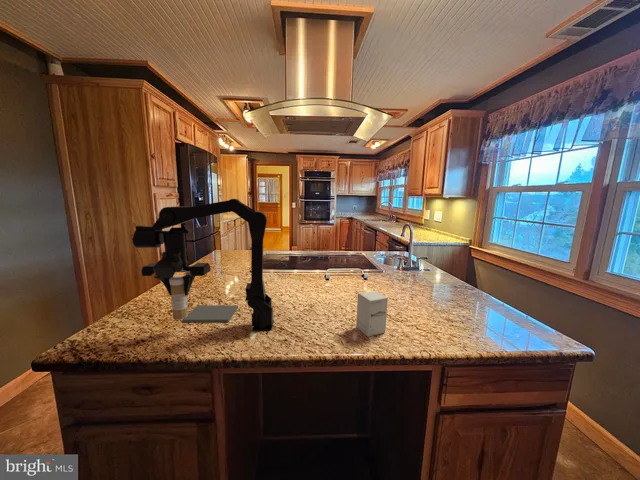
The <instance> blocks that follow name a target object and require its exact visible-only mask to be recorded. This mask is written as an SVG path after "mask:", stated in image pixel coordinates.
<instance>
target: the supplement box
mask: <svg viewBox="0 0 640 480" xmlns="http://www.w3.org/2000/svg"><path fill="white" fill-rule="evenodd" d="M356 300H357V302H356V303H357V304H356V322H355V323H356V324H355V327H356V328H357V329H358V330H359V331H360V332H361V333H362V334H364V335H365V336H366V337H367V338H368V337H372V336H376V335H380V334H384V333H386V330H387V328H386V327H387V317H388V316H387V313H388V301H389V300H388V297H387V296H386V295H384V294H382V293H380V292H378V291H377V290H373V291H372V290H371V291H365V292H358V293H357V299H356Z"/></svg>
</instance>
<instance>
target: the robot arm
mask: <svg viewBox="0 0 640 480" xmlns="http://www.w3.org/2000/svg"><path fill="white" fill-rule="evenodd" d="M226 213H234V214H236V215H237V216H238V217H240V218H241V219H242V220H244V221H245V222H247V225H248V230H249V234H250V239H251V271H250V272H251V274H250V275H251V278H250V280H251V281H250V282H247V283H246V286H245V294H246V296H245V300H244V301H245V302H246V303H247V305H248V307H249V308H250V309H252V314H251V326H252V328H251V329H252V331H272V330H273V327H274V322H275V320H274V308H273V306H272V305H273V304H272V303H273V302H272V297H270V296H269V295H268V294H267V293H266V288H265V283H264V277H263V274H264V238H265V233H266V227H267V223H268V216H267V215H266V214H265V213H264V212H263V211H260V210H257V211H256V210H254V209H253V208H251V207H249V205H246V204H245V203H243V202H241V201H240V199H238V198H230V199H229V200H223V201H218V202H212V203H206V204H201V205H200V204H199V205H195V206H186V205H185V206H184V205H183V206H166V207H163V208H161V209H160V211H159V212H158V218H157V220H156V221H155V222H154V224H153V225H136V226H135V231H134V232H133V235H132V236H133V237H132V238H131V239H132V243H133V246H134V248H136V249H155V248H156V249H159V248H161V246H162V245H164V247H163V248H164V251H162V252H161V253H162V254H161V259H159V260H158V261H157V262H151V263H149V264H146V265H143V266H142V268H140V269H141V270H140V272H141V273H140V274H141V277H152V276H153V275H154V276H153V278H154V279H157V280H159V281H160V282H162V284H163V286H164V287H165V288H166V291H167V293H168V294H169V296H171V286H170V281H169V279H170V278H171V277H174V276H175V273H185V275H182V276H183V277H182V278H183V280H184V292H185V296H187V297H188V295H189V293H190V290H191V288H192V284H193V282H194V280H195V278H196V277H202V276H203V277H204V276H206V275H207V274H208V273H209V272H212V271H211V265H210V264H209V262H197V263H196V262H195V264H193V265H190V263H189V261H188V260H187V253H188V252H189V249H188V248H187V247H186V234H189V233H192V231H193V230H192V229H191V228H190V227H188V225H187V224H184V223H187V222H190V221H193V220H195V219H198V218H203V217H204V218H205V217H209V216H217V215H221V214H226ZM182 224H183V225H182ZM177 225H182V226H181V227H174V226H177ZM168 228H170V229H169V230H164V229H168Z"/></svg>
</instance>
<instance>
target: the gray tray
mask: <svg viewBox="0 0 640 480" xmlns="http://www.w3.org/2000/svg"><path fill="white" fill-rule="evenodd" d="M238 308H239V305H231V304H230V305H227V304H226V305H222V304H221V305H219V304H218V305H217V304H216V305H215V304H213V305H196V306H195V308H193V309H192V310H191V311H190V312H188V317H186V318H184V319H182V323H229V322H230V320H231V319H232V317H233V316H234V315H235V313H236V312H237V310H238Z"/></svg>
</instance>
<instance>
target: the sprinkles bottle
mask: <svg viewBox="0 0 640 480" xmlns="http://www.w3.org/2000/svg"><path fill="white" fill-rule="evenodd" d="M183 276H184V275H176V276H175V275H174V276H173V277H171V278H170V279H169V281H170V286H171V297H170V298H171V308H172V319H173V320H176V321H177V320H178V321H179V320H183V319H184V318H186V317H188V314H189V309H188V295H187V296H185V292H184V280H183V278H182V277H183Z"/></svg>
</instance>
